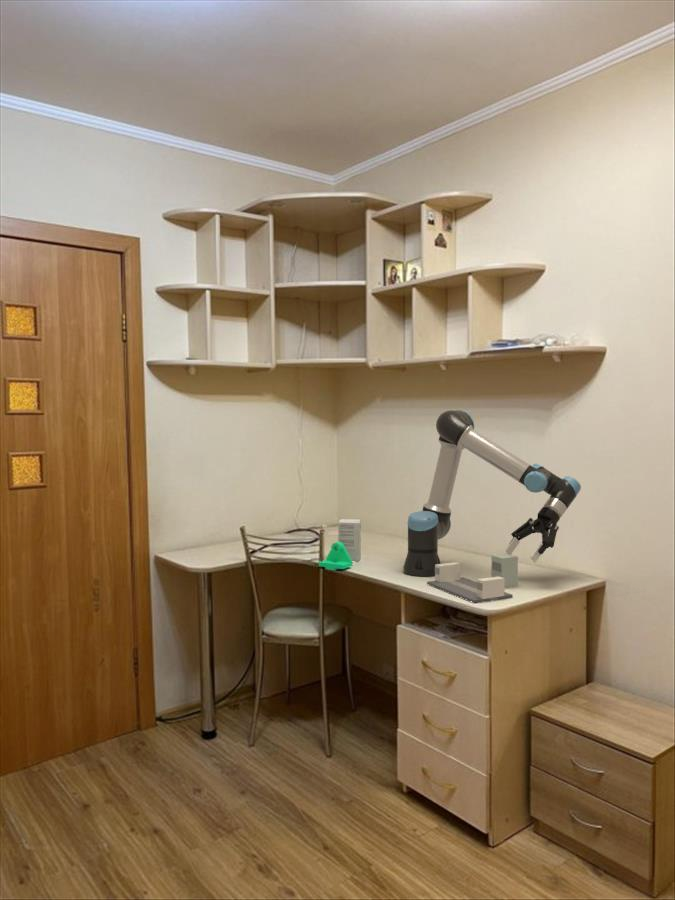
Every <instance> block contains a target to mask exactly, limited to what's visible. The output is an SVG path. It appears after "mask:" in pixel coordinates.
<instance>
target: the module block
mask: <svg viewBox="0 0 675 900" xmlns="http://www.w3.org/2000/svg"><path fill="white" fill-rule="evenodd" d="M518 561H519V556H517V555H513V554H511V555H510V554H507V553H500V554H492V555H491V567H490V568H491V570H490V571H491V573H490V574H491V575H490V578H491V577H498V576H499V577H502V578H505V583H504V588H505V589H511V588H510V587H513V588H518V577H519V576H518V573H519V572H518V570H519V569H518V567H519V563H518Z"/></svg>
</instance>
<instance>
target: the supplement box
mask: <svg viewBox="0 0 675 900" xmlns="http://www.w3.org/2000/svg"><path fill="white" fill-rule="evenodd" d="M337 525H338V527H337V529H338V532H337V533H338V538H337V539H338V540H337V542H342V543H343V544H344V546H345V548H346V550H347V552H348V554H349V556H350V558H351V560H352V561H360V562H361V555H362V554H361V553H362V552H361V551H362V550H361V549H362V548H361V546H362V543H361V542H362V539H361V538H362V537H361V534H362V533H361V531H362V520H361V519H359V518H358V519H357V518H356V519H353V518H344V519H343V518H341V519H339V521H338V524H337Z"/></svg>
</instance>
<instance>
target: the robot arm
mask: <svg viewBox="0 0 675 900" xmlns="http://www.w3.org/2000/svg"><path fill="white" fill-rule="evenodd" d="M435 423H436V424H435V427H436V431H437V434H438V435H439V437H438V442H439V444H440V445H441V446H440V449H439V454H438V458H437V463H436V467H435V471H434V474H433V479H432V484H431V488H430V492H429V498H428V501H427V502H426V503H424V504H423V506H422V510H419V511H414V512H412V513H410V514H409V515H408V516H407V517H408V518H407V553H406V557H405V561H404V563H403V566H402V567H403V569H402V570H403V571H402V572H403V574H405V575H408V576H414V577H435V565H436V564H442V563H441V559H440V557H439V554H438V553H439V552H438V551H439V550H438V545H439V544H438V543H439V540H441V539H443V538H444V537H445V536H447V534H448V533H449V532H450V530H451V527H452V526H451V525H452V521H451V515H452V509H450V508H451V507H450V503H451V498H452V494H453V490H454V486H455V482H456V477H457V475H458V469H459V465H460V461H461V458H462V457H461V456H462V453H463V451H464V449H466V450H468V451H469V452H471V453H473V454H474V455H475V456H477V457H479V458H480V459H482V460H483V461H485V462H486V463H488V464H490V465H491V466H493V467H494V468H495V469H498V470H499V471H500V472H502V473H504V474H505V475H507V476H508V477H511V478H512V479H514V480H515V481H517V482H518V483H519V484H521V485H522V486H523V487H524V486H525V489H527V491H529V492H531V493H541V492H544V493H546V494H548V495H550V496H549V498H548V499H547V500H546V502H544V504H543V507H541V508H540V510H539V511H538V512H537V518H536V519H533V518H532V517H530V518H528V519H527V520H526V522H524V523H523V524H521V526H519V527H518V528H516V530H514V531H513V532H512V533H511V534H510V535H511V537H512V539H510V541H509V543H508V546H507V547H506V548H505V550H504V552H505V553H506V554H510V555H513V554H512V553H513V552H514V551H515V549H516V548H517V546H518V545H519V544H520V541H521V540H523V539H524V538H526V537H528V536H530V535H532V534H536V533H537V534H541V543H540V542H539V544H538V545H537V547H536V548H535V550H534V551H533V552H532V554H531V555H530V557H529V558H530V559H531V560H532V562H534V563H536V562H537V561H538V560H539V559H540V557H541V556H542V555H543V554H544V553H545V551H546V550H547V549H549V548H552V549H553V548H554V546H555V543H556V538H557V532H558V531H559V529H560V527H559V525H558V522H560V518H562V517H563V515H564V514H565V513H566V511H568V508H569V507H570V505H572V503H573V502H574V500H575V499H576V497H577V496H578V494H579V493H580V491H581V490H582V486H581V484H580V482H579V481H578V480H577V479H576V478H574V477H572V476H569V475H568V476H564V477H563V478H561V477H559V476H558V475H556V474H554V473H552V471H549V470H548V469H547V468H545V467H544V466H542V465H541V464H538V463H534V464H532V465H531V464H529V463H528V462H526V461H525V460H523V459H521V458H520V457H518V456H517V455H515V454H513V453H512V452H509V451H508V450H507V449H505V448H503V447H502V446H501V445H499V444H497V443H496V442H494V441H492V440H491V439H489V438H487V437H486V436H484V435H482V434H481V433H479V432H478V431H476V430H475V422H474V419H473V418H472V416H471V415H470V414H469V413H468V412H466V411H462V410H457V409H456V410H446V411H444V412H442V413H440V415H439V416H438V417H437V420H436V422H435Z"/></svg>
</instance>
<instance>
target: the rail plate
mask: <svg viewBox="0 0 675 900" xmlns="http://www.w3.org/2000/svg"><path fill="white" fill-rule="evenodd" d="M434 578H435V579H434V580H430V581H427V582H426V585H427V584H429V585H428V586H430V585H431V586H430V587H432V586H434V587H433V588H435V587H436V589H437V588H439V589H438V590H440V589H441V590H440V591H442V590H444V591H443V592H445V591H446V592H445V593H447V592H449V593H448V594H450V593H452V594H454V595H453V596H455V595H456V596H455V597H457V596H459V597H458V598H460V597H462V598H464V599H463V600H465V599H467V600H469V601H468V602H470V601H472V602H474V603H473V604H476V603H475V602H480V603H483V602H482V601H487V602H492V601H491V600H494V601H498V600H506V599H507V600H508V599H512V598H513V596H514V594H512V593H509V592H506V591H505V589H504V583H505V578H502V577H499V576H498V577H491V576H490V577H485V578H484V577H483V578H477V580H476V581H475V580H472V579H469V578H467V577H464V576H462V577H461V563H459V562H447V563H441V564H436V565H435V576H434ZM452 594H451V595H452ZM462 598H461V599H462ZM467 600H466V601H467ZM472 602H471V603H472Z"/></svg>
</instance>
